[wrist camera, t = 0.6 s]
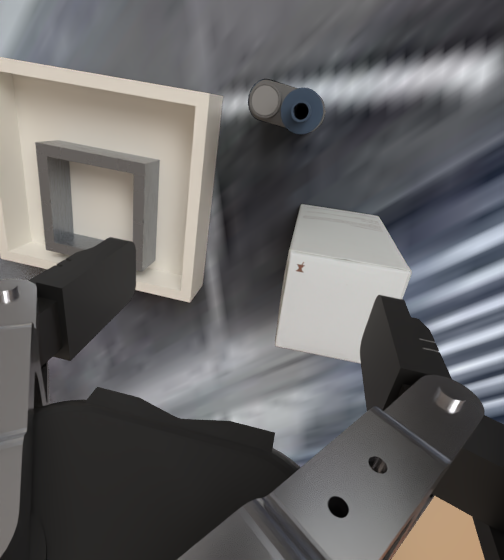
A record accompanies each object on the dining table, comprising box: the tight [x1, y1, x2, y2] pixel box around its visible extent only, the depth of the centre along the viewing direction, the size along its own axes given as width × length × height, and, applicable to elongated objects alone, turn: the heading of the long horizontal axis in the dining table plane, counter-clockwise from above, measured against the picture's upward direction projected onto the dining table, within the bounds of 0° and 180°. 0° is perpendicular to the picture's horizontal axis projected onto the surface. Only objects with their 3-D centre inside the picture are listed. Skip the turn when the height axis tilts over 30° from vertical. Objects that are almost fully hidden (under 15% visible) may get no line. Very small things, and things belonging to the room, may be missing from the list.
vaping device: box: [248, 79, 326, 134], centre depth 24 cm, size 3×5×12 cm, turn 75°
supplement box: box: [275, 204, 412, 363], centre depth 28 cm, size 7×7×13 cm
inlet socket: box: [35, 140, 160, 272], centre depth 34 cm, size 10×10×3 cm
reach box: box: [0, 57, 223, 302], centre depth 34 cm, size 18×20×4 cm
